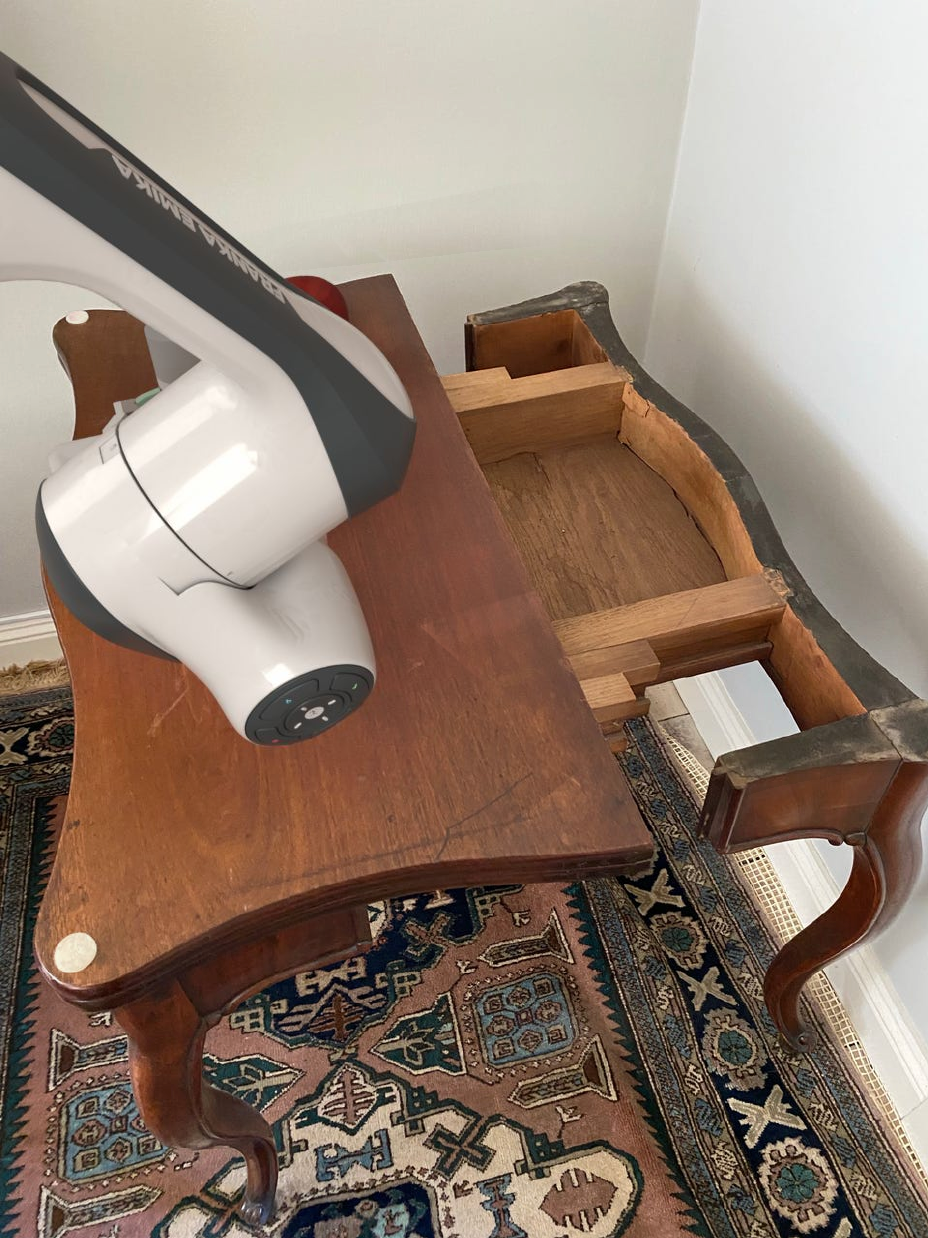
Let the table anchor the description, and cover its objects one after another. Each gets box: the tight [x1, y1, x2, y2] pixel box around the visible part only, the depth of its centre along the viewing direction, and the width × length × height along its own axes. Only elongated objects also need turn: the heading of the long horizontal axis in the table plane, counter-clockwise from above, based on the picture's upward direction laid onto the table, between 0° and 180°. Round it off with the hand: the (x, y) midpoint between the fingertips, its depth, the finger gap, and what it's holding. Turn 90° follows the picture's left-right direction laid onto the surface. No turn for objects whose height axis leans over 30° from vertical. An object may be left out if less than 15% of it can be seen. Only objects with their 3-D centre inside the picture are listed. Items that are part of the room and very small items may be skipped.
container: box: [143, 324, 201, 392], centre depth 77 cm, size 5×5×15 cm
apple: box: [284, 275, 350, 323], centre depth 91 cm, size 10×10×10 cm
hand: (195, 393), depth 63 cm, fingers open, 8 cm apart
